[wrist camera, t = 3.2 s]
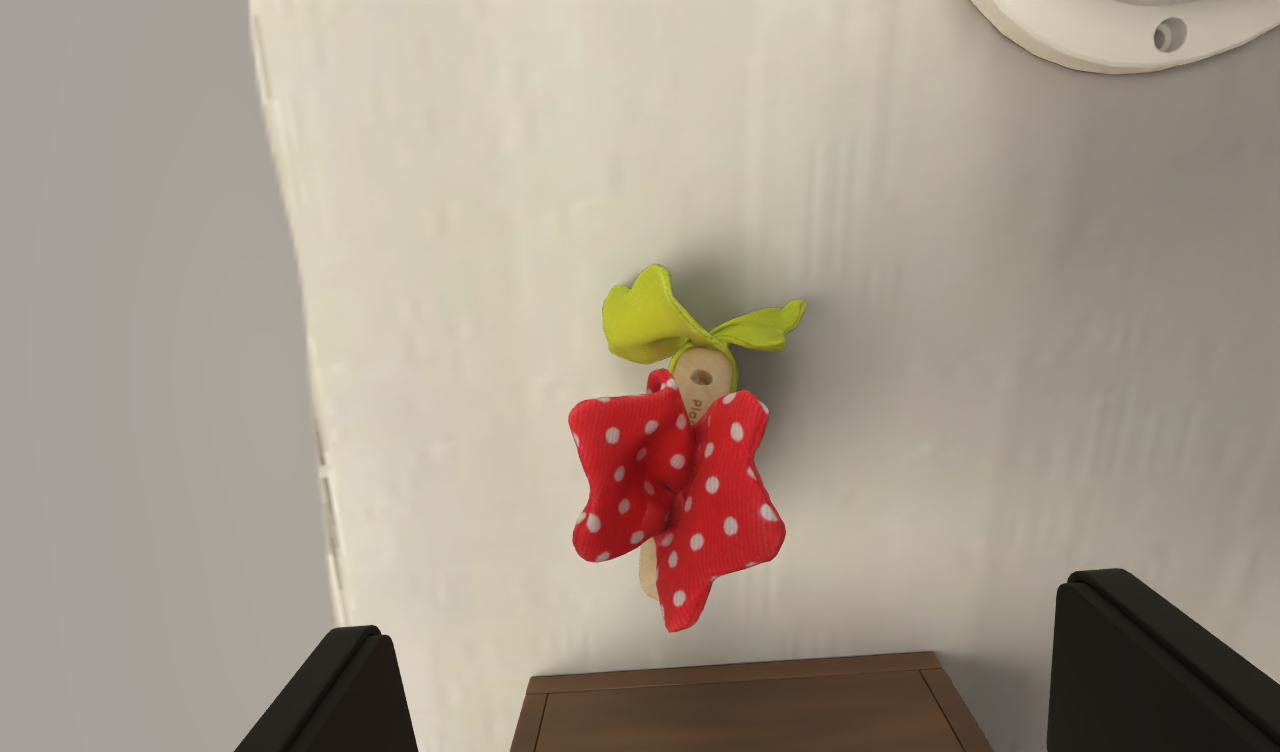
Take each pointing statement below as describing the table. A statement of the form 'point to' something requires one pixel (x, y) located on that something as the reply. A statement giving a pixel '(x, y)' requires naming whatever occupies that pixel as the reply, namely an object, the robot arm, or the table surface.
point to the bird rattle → (678, 449)
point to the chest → (754, 709)
